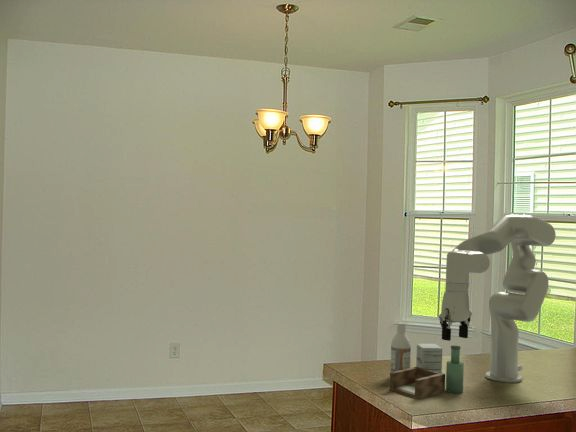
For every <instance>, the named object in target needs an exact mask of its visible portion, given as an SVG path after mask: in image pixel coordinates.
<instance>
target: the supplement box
mask: <svg viewBox="0 0 576 432" xmlns="http://www.w3.org/2000/svg"><path fill="white" fill-rule="evenodd" d="M415 358H416V359H415V361H416V363H415V367H420V368H424V369H427V370H431V371H435V372H439V373H442V372H443V370H442V369H443V368H442V367H443V348H442V347H441V346H439V345H438V344H436V343H417V344H416V357H415Z"/></svg>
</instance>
